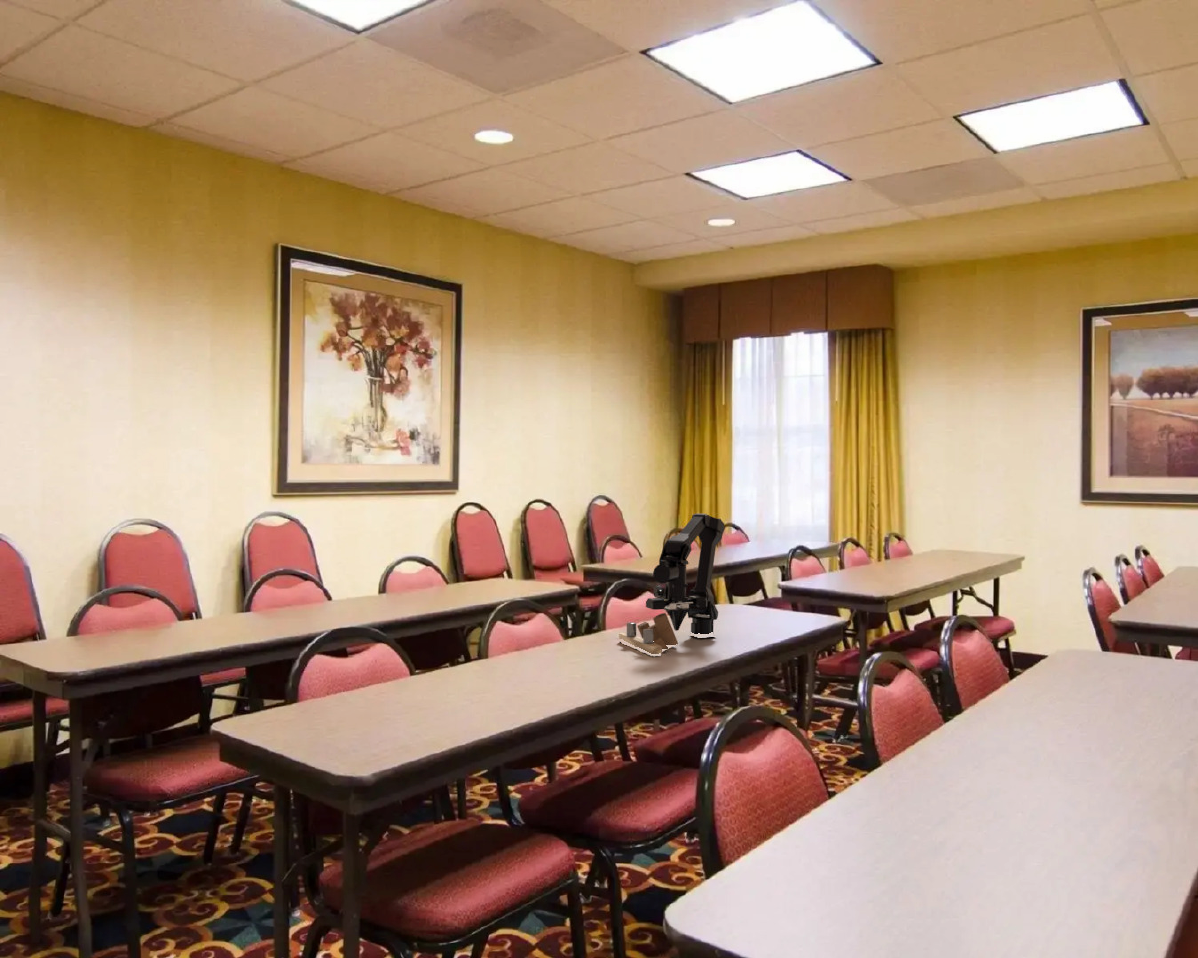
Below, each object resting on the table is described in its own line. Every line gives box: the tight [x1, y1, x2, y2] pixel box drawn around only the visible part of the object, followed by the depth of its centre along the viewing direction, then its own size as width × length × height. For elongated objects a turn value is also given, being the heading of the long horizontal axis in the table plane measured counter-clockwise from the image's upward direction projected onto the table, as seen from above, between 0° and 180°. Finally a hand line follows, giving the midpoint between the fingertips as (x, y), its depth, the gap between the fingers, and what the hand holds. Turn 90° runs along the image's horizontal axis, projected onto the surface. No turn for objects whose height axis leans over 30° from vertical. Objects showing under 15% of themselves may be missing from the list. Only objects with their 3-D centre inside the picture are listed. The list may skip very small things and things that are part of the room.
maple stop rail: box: [618, 632, 663, 654], centre depth 281 cm, size 3×24×3 cm, turn 23°
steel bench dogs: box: [626, 622, 653, 644], centre depth 281 cm, size 3×15×7 cm, turn 23°
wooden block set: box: [636, 612, 679, 649], centre depth 285 cm, size 18×9×10 cm, turn 18°
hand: (676, 630), depth 286 cm, fingers closed
